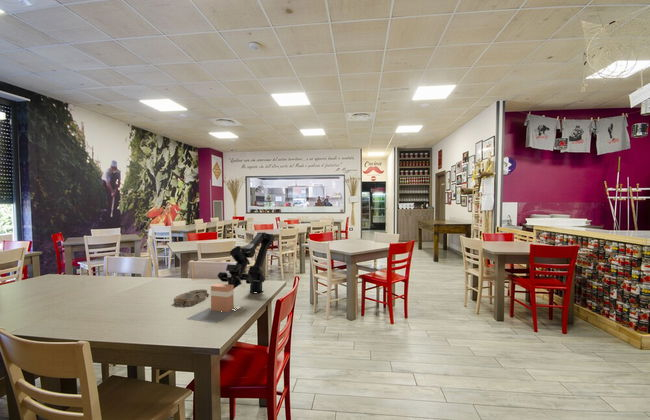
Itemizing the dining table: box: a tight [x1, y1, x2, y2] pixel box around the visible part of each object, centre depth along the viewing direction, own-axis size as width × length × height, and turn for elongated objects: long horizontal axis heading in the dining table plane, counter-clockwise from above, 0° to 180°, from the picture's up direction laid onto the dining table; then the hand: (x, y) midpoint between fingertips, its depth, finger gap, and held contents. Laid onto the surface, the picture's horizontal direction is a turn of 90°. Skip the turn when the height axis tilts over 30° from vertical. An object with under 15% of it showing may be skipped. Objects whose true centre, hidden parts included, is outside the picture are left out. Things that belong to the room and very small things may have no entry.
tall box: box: [210, 283, 235, 312], centre depth 143 cm, size 5×10×12 cm, turn 74°
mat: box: [186, 305, 242, 324], centre depth 139 cm, size 22×16×1 cm
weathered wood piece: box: [173, 289, 210, 307], centre depth 160 cm, size 14×5×20 cm
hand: (228, 292), depth 148 cm, fingers closed
